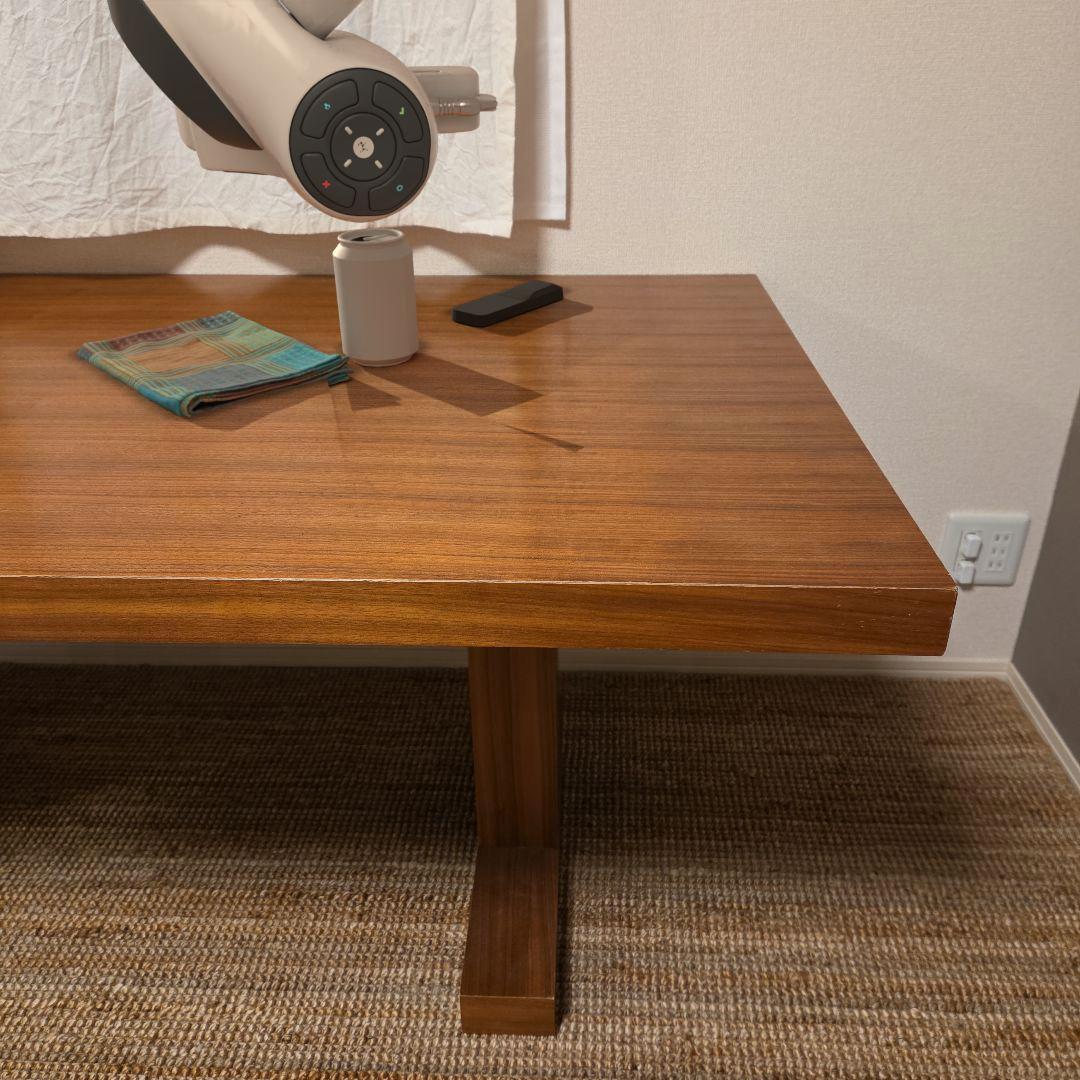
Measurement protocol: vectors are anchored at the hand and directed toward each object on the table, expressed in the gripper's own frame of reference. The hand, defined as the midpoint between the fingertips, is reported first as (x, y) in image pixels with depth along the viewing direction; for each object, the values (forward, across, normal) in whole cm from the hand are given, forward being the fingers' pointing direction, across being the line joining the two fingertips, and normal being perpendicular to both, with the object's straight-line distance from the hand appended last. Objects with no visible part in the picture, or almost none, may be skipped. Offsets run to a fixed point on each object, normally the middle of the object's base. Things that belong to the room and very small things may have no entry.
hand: (323, 90), depth 73 cm
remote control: (+28, -20, +26) cm, 43 cm away
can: (+15, -4, +26) cm, 30 cm away
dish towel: (+15, +12, +26) cm, 33 cm away
